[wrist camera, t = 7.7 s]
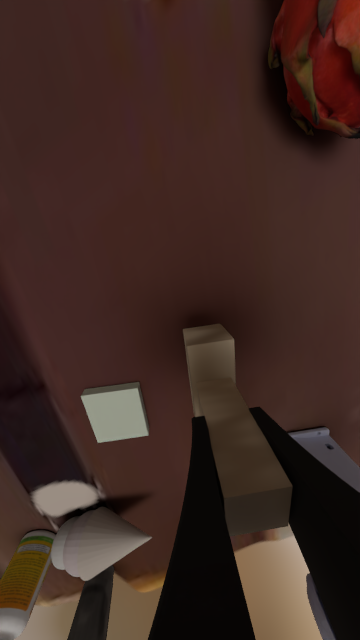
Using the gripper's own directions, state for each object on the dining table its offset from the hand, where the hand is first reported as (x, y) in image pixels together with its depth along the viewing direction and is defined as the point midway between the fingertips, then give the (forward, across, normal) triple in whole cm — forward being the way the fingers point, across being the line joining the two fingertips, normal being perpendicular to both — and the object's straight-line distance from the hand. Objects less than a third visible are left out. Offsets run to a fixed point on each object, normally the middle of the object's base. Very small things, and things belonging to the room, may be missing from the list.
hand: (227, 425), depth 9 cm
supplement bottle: (+10, +28, +30) cm, 42 cm away
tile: (+9, +7, +7) cm, 14 cm away
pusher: (+6, 0, 0) cm, 6 cm away
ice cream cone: (+10, +16, +25) cm, 31 cm away
